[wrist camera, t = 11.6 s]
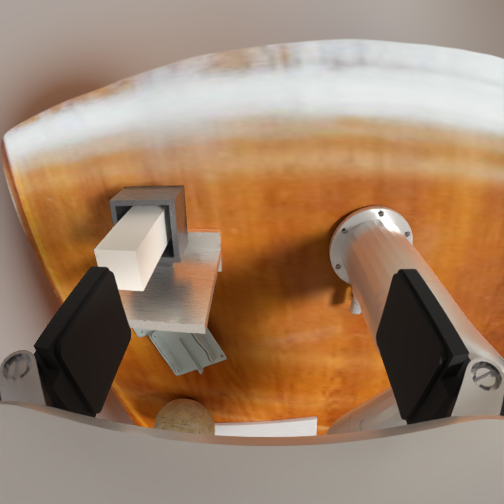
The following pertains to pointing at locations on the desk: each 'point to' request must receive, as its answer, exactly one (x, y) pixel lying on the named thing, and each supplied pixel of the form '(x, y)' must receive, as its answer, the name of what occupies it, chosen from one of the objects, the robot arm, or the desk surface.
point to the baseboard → (269, 428)
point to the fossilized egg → (185, 417)
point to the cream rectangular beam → (135, 245)
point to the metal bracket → (185, 349)
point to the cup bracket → (173, 267)
